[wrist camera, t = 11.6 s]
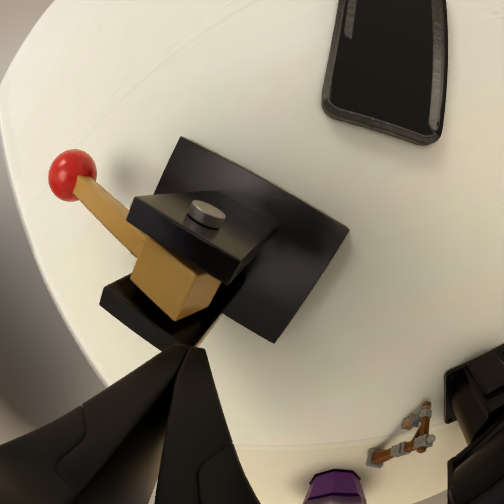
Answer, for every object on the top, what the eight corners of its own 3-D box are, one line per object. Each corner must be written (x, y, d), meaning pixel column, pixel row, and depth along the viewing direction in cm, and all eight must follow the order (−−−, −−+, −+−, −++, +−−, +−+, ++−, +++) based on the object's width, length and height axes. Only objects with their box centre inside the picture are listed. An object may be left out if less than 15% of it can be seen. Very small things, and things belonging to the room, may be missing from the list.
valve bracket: (138, 249, 21) (40, 290, 12) (187, 138, 19) (89, 110, 9) (276, 336, 20) (243, 437, 11) (348, 227, 18) (380, 271, 8)
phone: (443, -19, 10) (439, 148, 14) (439, -12, 11) (433, 150, 15) (344, -49, 11) (316, 109, 15) (344, -41, 13) (316, 114, 16)
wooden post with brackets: (442, 399, 18) (441, 448, 14) (387, 430, 23) (380, 470, 19) (428, 394, 18) (425, 446, 14) (373, 426, 23) (365, 467, 20)
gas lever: (75, 189, 17) (36, 188, 14) (90, 146, 16) (50, 139, 13) (208, 313, 13) (163, 335, 10) (240, 255, 12) (196, 265, 9)
